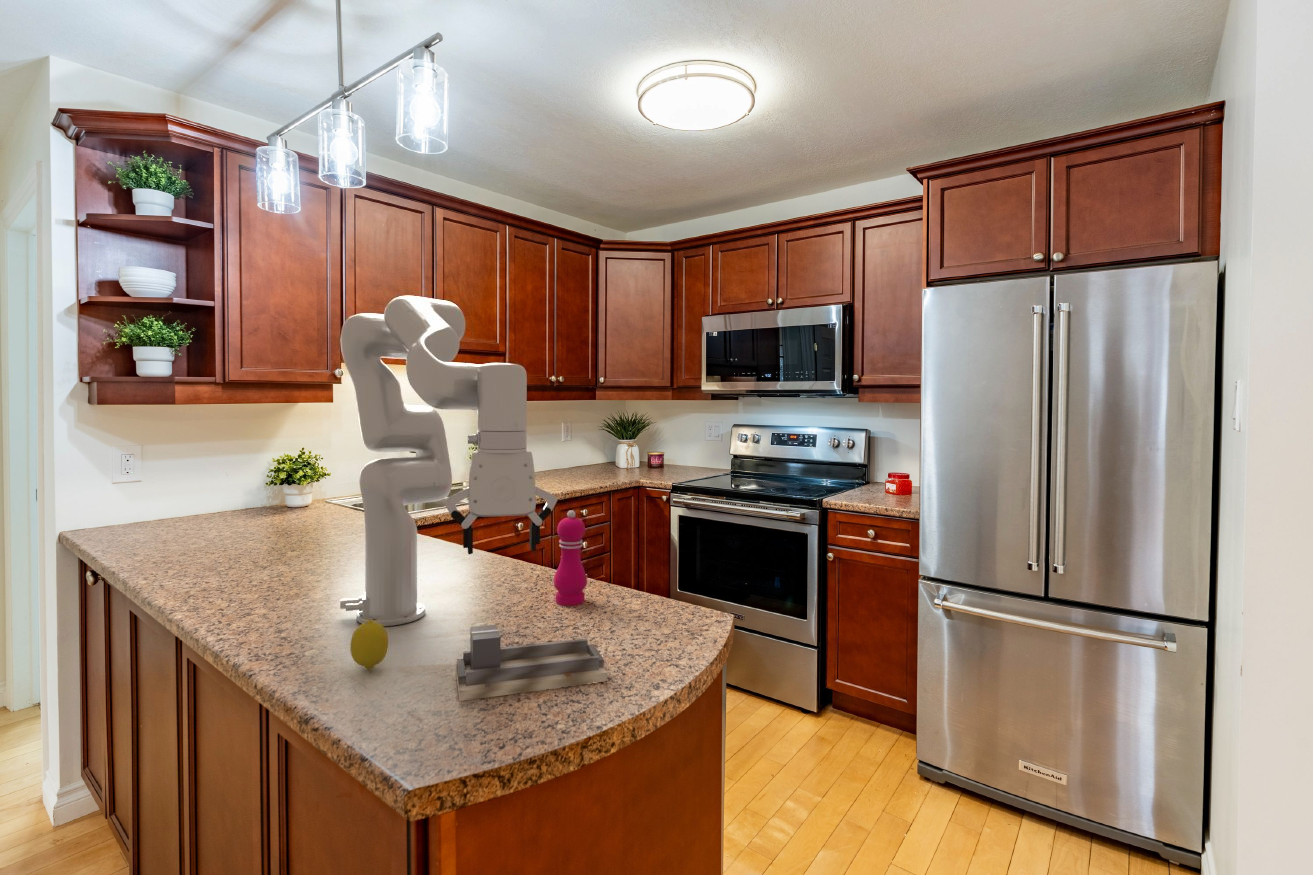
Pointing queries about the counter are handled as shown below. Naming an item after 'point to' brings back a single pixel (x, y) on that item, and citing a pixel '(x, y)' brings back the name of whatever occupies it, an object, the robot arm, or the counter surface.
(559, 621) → the counter surface
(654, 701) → the counter surface
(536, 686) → the fader board
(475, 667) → the fader knob
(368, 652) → the lemon
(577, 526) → the pepper mill
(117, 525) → the counter surface
